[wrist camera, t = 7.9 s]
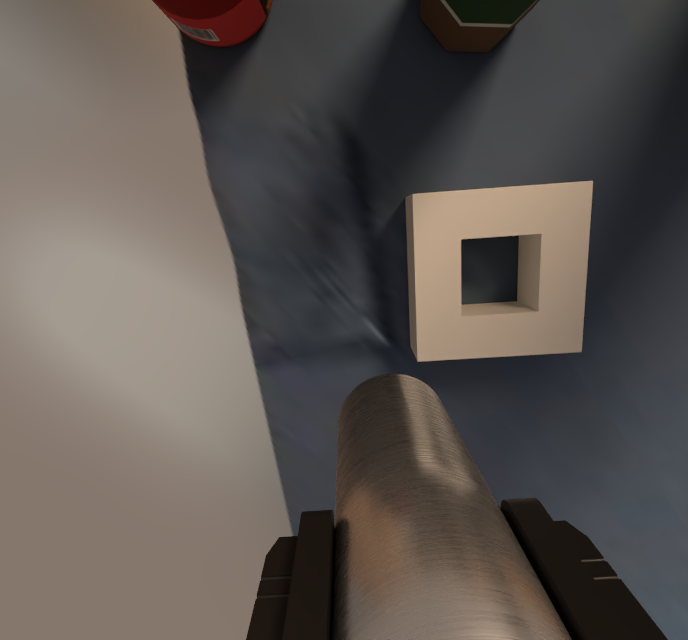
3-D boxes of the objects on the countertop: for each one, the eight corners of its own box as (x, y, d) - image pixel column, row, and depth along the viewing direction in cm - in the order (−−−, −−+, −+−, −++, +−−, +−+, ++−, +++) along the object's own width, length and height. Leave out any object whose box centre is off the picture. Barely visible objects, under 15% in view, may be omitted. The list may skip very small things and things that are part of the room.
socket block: (563, 185, 31) (593, 180, 28) (555, 337, 34) (581, 352, 30) (405, 197, 32) (412, 194, 28) (410, 345, 35) (417, 361, 31)
